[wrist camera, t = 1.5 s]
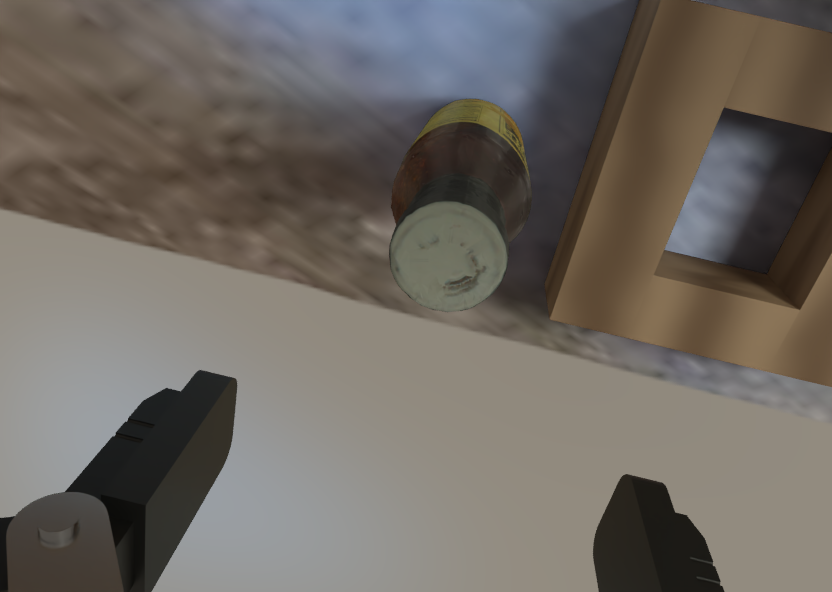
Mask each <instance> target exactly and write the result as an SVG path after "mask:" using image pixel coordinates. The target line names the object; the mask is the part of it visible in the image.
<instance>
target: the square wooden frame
mask: <svg viewBox="0 0 832 592" xmlns="http://www.w3.org/2000/svg"><path fill="white" fill-rule="evenodd" d="M723 108H728V109H733V110H737V111H741V112H746V113H750V114H754V115H758V116H763V117H767V118H771V119H775V120H780V121H784V122H788V123H793V124H797V125H801V126H805V127H810V128H814V129H818V130H823V131H827V132H831V133H832V33H830V32H826V31H821V30H817V29H813V28H808V27H804V26H800V25H795V24H791V23H787V22H782V21H778V20H774V19H769V18H765V17H761V16H756V15H752V14H748V13H743V12H739V11H735V10H730V9H726V8H722V7H717V6H713V5H709V4H704V3H700V2H696V1H691V0H639V3H638V6H637V9H636V12H635V15H634V18H633V21H632V24H631V27H630V30H629V33H628V36H627V39H626V42H625V45H624V48H623V51H622V54H621V57H620V60H619V63H618V66H617V69H616V71H615V74H614V77H613V80H612V83H611V86H610V89H609V92H608V95H607V98H606V101H605V104H604V107H603V110H602V113H601V116H600V119H599V122H598V125H597V128H596V131H595V134H594V137H593V140H592V143H591V146H590V149H589V152H588V155H587V158H586V161H585V164H584V167H583V170H582V173H581V176H580V179H579V182H578V185H577V188H576V191H575V194H574V197H573V200H572V203H571V206H570V209H569V212H568V215H567V218H566V221H565V224H564V227H563V230H562V233H561V236H560V239H559V242H558V245H557V248H556V251H555V254H554V257H553V260H552V263H551V266H550V269H549V272H548V275H547V278H546V281H545V284H544V285H545V292H546V298H547V305H548V312H549V318H550V320H554V321H558V322H562V323H566V324H570V325H575V326H579V327H583V328H587V329H591V330H595V331H600V332H604V333H608V334H612V335H616V336H621V337H625V338H629V339H633V340H637V341H641V342H646V343H650V344H654V345H658V346H662V347H667V348H671V349H675V350H679V351H683V352H687V353H692V354H696V355H700V356H704V357H708V358H713V359H717V360H721V361H725V362H729V363H733V364H738V365H742V366H746V367H750V368H754V369H759V370H763V371H767V372H771V373H775V374H779V375H784V376H788V377H792V378H796V379H800V380H805V381H809V382H813V383H817V384H821V385H825V386H830V387H832V148H831V150H830V152H829V153H828V155H827V157H826V159H825V161H824V163H823V165H822V167H821V169H820V171H819V173H818V175H817V177H816V179H815V181H814V183H813V185H812V187H811V189H810V191H809V193H808V195H807V197H806V199H805V201H804V203H803V205H802V206H801V208H800V210H799V212H798V214H797V216H796V218H795V220H794V222H793V224H792V226H791V228H790V230H789V232H788V234H787V236H786V238H785V240H784V242H783V244H782V246H781V248H780V250H779V252H778V254H777V256H776V258H775V259H774V261H773V263H772V265H771V267H770V269H769V271H768V273H767V274H763V273H759V272H755V271H750V270H746V269H742V268H738V267H734V266H729V265H725V264H721V263H717V262H712V261H708V260H704V259H700V258H696V257H691V256H687V255H683V254H679V253H674V252H670V251H666V250H664V249H665V246H666V244H667V242H668V239H669V237H670V235H671V232H672V230H673V227H674V225H675V223H676V220H677V218H678V215H679V213H680V211H681V208H682V206H683V203H684V201H685V199H686V196H687V194H688V192H689V189H690V187H691V184H692V182H693V180H694V177H695V175H696V172H697V170H698V168H699V165H700V163H701V160H702V158H703V156H704V153H705V151H706V149H707V146H708V144H709V141H710V139H711V137H712V134H713V132H714V129H715V127H716V125H717V122H718V120H719V118H720V115H721V113H722V110H723Z"/></svg>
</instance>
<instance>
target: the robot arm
mask: <svg viewBox="0 0 832 592" xmlns="http://www.w3.org/2000/svg"><path fill="white" fill-rule="evenodd" d="M236 393H237V381H236V379H235V378H231V377H227V376H223V375H219V374H215V373H211V372H207V371H202V370H199V371H197V372H196V373H195V375H194V376H193V377H192V378H191V380H190V381H189V382H188V384H187V385H186V386H185V387H184V389H183V390H182V391H181V392H180V391H176V390H172V389H168V388H166V389H164V390H162V391H160V392H158V393H156V394H155V395H153V396H151V397H149V398H147V399H146V400H144V401H143V402H142V403H141V404H140V405H139V406H138V407H137V409H136V410H135V411H134V412H133V413H132V414H131V416H130V417H129V418H128V421H127V422H125V423H124V424H123V425H122V426H121V427H120V428H119V430H118V431H117V432H116V435H115V437H112V438H111V439H110V440H109V441H108V443H107V444H106V445H105V446H104V447H103V448H102V449H101V451H100V452H99V453H98V454H97V455H96V456H95V458H94V459H93V460H92V461H91V462H90V463H89V465H88V466H87V467H86V468H85V469H84V470H83V471H82V473H81V474H80V475H79V476H78V477H77V479H76V480H75V481H74V482H73V483H72V484H71V485H70V487H69V488H68V489H67V490H66V491H65V492H62V493H56V494H52V495H48V496H45V497H43V498H40V499H38V500H36V501H34V502H32V503H30V504H29V505H27V506H26V507H24V508H23V509H22V510H21V511H20V512H18V514H16V516H14V517H6V518H0V592H151V591H152V590H153V588H154V586H155V585H156V583H157V581H158V579H159V577H160V576H161V574H162V572H163V571H164V569H165V567H166V565H167V564H168V562H169V560H170V558H171V557H172V555H173V553H174V551H175V550H176V548H177V546H178V544H179V543H180V541H181V539H182V538H183V536H184V534H185V532H186V531H187V529H188V527H189V525H190V523H191V522H192V520H193V518H194V517H195V515H196V513H197V511H198V510H199V508H200V506H201V504H202V503H203V501H204V499H205V497H206V495H207V494H208V492H209V490H210V489H211V487H212V485H213V484H214V482H215V480H216V478H217V476H218V475H219V473H220V471H221V470H222V468H223V466H224V464H225V461H226V459H227V456H228V453H229V450H230V447H231V442H232V436H233V426H234V414H235V405H236ZM593 558H594V565H595V571H596V576H597V583H598V588H599V592H724V590H723V587H722V586H720V579H719V576H718V573H717V571H716V568H715V566H713V560H712V557H711V555H710V552H709V549H708V546H707V544H706V541H705V538H704V537H703V536H702V535H701V533H700V532H699V531H698V529H697V528H696V527H695V526H694V524H693V523H692V522H691V520H690V519H689V518H688V517H687V515H683V514H679V513H675V511H674V508H673V505H672V502H671V499H670V496H669V493H668V490H667V488H666V486H665V485H664V484H663V483H661V482H657V481H653V480H649V479H645V478H641V477H636V476H632V475H628V474H626V475H623V476H622V477H621V479H620V481H619V482H618V484H617V486H616V489H615V491H614V493H613V495H612V497H611V499H610V502H609V504H608V506H607V508H606V510H605V512H604V514H603V516H602V519H601V521H600V523H599V525H598V527H597V530H596V534H595V538H594V546H593Z"/></svg>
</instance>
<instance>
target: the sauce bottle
mask: <svg viewBox="0 0 832 592" xmlns="http://www.w3.org/2000/svg"><path fill="white" fill-rule="evenodd" d="M531 201H532V191H531V183H530V177H529V172H528V166H527V161H526V156H525V151H524V146H523V141H522V136H521V133H520V131H519V129H518V127H517V125H516V123H515V122H514V121H513V119H512V118H511V117H510V116H509V115H508V114H507V113H506V112H505V111H504V110H503V109H502V108H500V107H499V106H497V105H495V104H493V103H490V102H487V101H483V100H479V99H464V100H457V101H454V102H452V103H450V104H448V105H446V106H444V107H443V108H441V109H440V110H439V111H438V112H436V113H435V114H434V115H433V116H432V118H431V119H430V120H429V121H428V123H427V124H426V126H425V127H424V128H423V130H422V131H421V133H420V134H419V136H418V137H417V139H416V140H415V142H414V143H413V145H412V146H411V148H410V149H409V150H408V152H407V154H406V155H405V157H404V159H403V161H402V164H401V167H400V169H399V171H398V173H397V176H396V178H395V180H394V185H393V189H392V204H391V208H392V211H393V216H394V219H395V223H396V227H395V230H394V233H393V235H392V239H391V243H390V249H389V257H390V266H391V271H392V274H393V276H394V279H395V280H396V282H397V284H398V285H399V287H400V288H401V289H402V290H403V291H404V292H405V293H406V294H407V295H408V296H409V297H410V298H411V299H413V300H415V301H416V302H417V303H419V304H420V305H422V306H424V307H427V308H430V309H432V310H439V311H444V312H452V311H463V310H466V309H470V308H472V307H474V306H476V305H477V304H479V303H481V302H482V301H484V300H485V299H486V298H488V297H489V296H490V295H492V294H493V293H494V292H495V290H496V289H497V288H498V286H499V285H500V283H501V281H502V279H503V277H504V275H505V273H506V269H507V265H508V257H509V243H510V242H511V241H512V240H513V239H514V238H516V236H517V235H518V234H519V233H520V231H521V230H522V228H523V227H524V225H525V223H526V221H527V218H528V215H529V212H530V208H531Z"/></svg>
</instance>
